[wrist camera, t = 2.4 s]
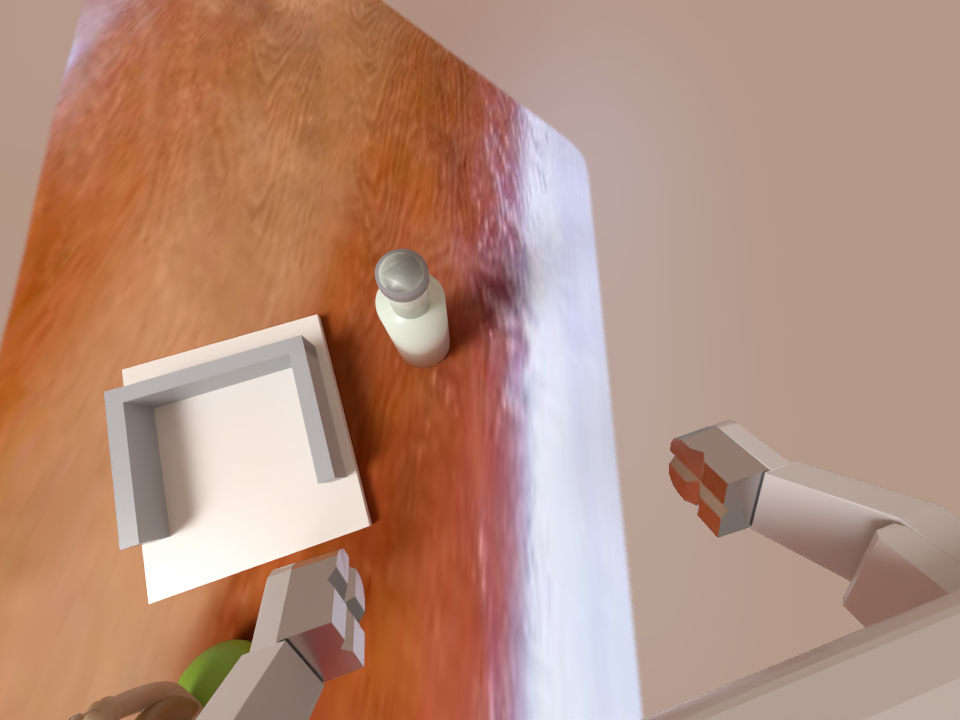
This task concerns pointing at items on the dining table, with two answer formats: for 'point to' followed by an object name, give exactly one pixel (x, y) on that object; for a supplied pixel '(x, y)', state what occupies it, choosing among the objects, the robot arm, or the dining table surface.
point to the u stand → (232, 456)
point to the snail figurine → (174, 689)
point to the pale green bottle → (412, 308)
